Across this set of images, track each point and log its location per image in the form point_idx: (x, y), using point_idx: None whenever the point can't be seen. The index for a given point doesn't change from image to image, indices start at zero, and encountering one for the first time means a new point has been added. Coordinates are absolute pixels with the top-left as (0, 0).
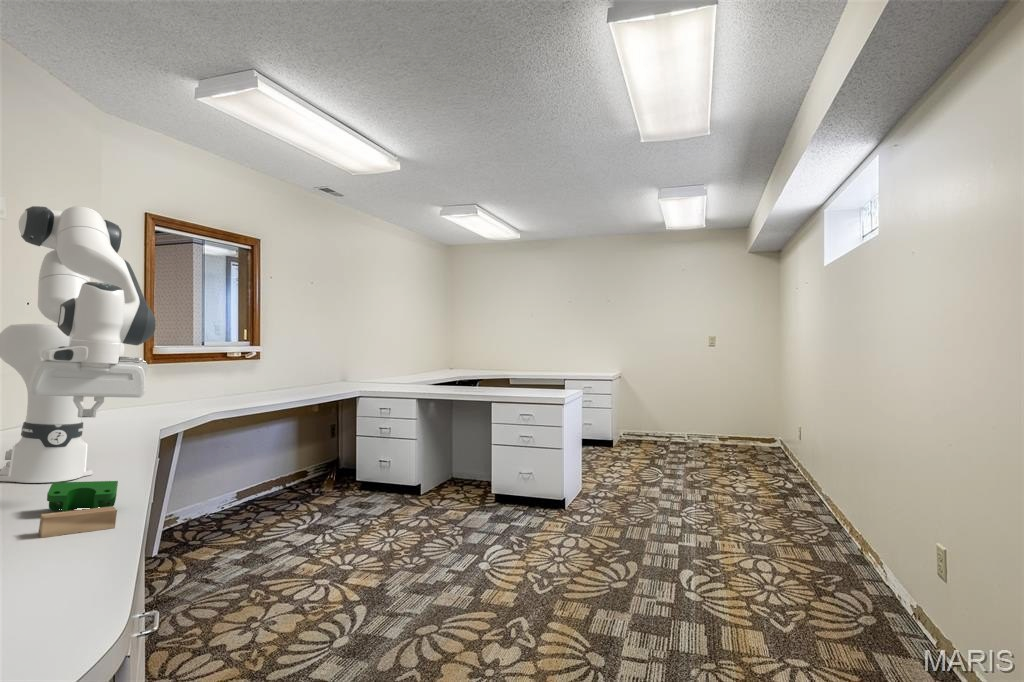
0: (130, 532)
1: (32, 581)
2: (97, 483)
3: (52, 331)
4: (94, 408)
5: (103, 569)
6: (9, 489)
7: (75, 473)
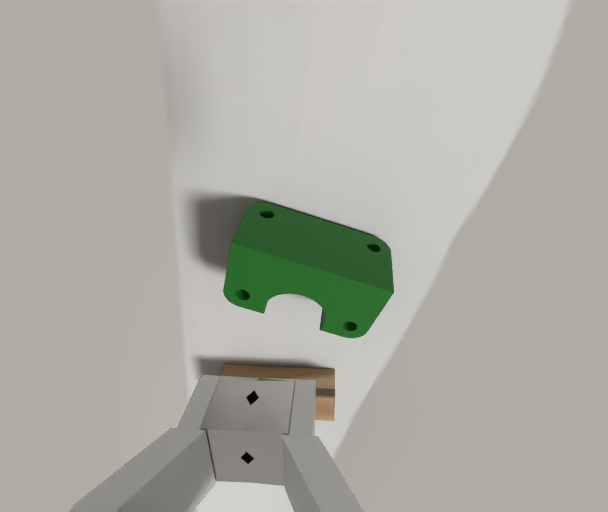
0: (347, 420)
1: (215, 502)
2: (339, 286)
3: None
4: (293, 498)
5: (279, 508)
6: None
7: None
